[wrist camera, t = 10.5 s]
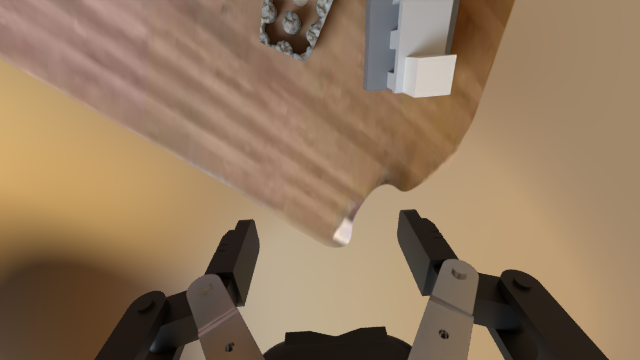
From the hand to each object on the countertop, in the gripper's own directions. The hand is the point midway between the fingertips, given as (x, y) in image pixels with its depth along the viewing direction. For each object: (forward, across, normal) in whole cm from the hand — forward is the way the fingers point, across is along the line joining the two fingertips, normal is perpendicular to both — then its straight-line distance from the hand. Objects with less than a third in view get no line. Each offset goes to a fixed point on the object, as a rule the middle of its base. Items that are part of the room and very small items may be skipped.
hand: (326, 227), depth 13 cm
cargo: (+22, -13, -5) cm, 26 cm away
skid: (+26, -13, -9) cm, 30 cm away
